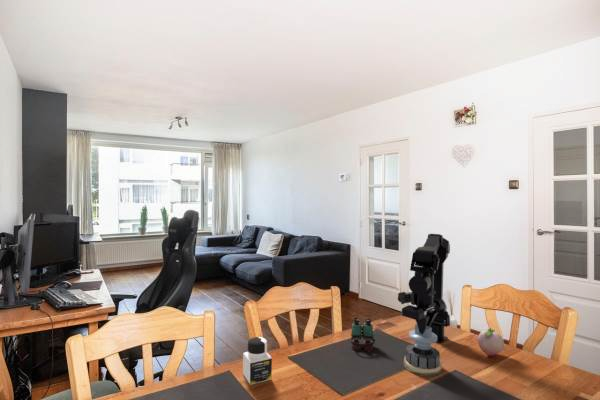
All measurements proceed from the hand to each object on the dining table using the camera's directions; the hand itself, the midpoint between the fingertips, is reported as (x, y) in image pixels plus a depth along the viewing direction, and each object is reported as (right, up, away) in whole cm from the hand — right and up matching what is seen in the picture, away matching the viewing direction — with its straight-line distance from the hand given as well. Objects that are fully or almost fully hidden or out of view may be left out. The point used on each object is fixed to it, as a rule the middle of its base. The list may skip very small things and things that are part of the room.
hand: (423, 332), depth 118 cm
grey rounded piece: (0, -5, 0) cm, 5 cm away
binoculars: (-18, -11, +14) cm, 25 cm away
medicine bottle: (-55, -11, -8) cm, 57 cm away
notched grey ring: (0, -12, 0) cm, 12 cm away
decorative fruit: (+28, -12, +10) cm, 32 cm away
